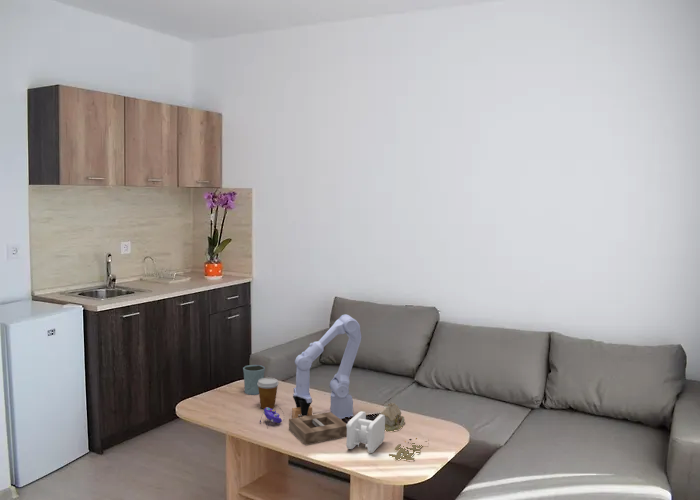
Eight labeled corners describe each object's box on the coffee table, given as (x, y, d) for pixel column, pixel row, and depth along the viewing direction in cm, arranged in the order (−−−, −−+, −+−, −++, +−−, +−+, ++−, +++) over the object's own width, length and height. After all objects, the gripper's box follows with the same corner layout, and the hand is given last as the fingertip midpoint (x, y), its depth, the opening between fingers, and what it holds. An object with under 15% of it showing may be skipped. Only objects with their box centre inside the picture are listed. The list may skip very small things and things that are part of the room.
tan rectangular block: (309, 416, 265) (309, 405, 264) (312, 418, 262) (312, 407, 262) (292, 419, 261) (292, 408, 261) (294, 422, 259) (295, 410, 258)
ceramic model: (393, 434, 249) (394, 410, 248) (369, 428, 254) (370, 405, 253) (408, 423, 261) (409, 400, 260) (385, 417, 266) (386, 395, 265)
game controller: (290, 414, 257) (272, 416, 249) (283, 431, 258) (265, 433, 251) (277, 401, 263) (259, 402, 256) (270, 418, 265) (252, 419, 257)
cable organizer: (370, 456, 228) (371, 426, 226) (344, 451, 232) (345, 421, 231) (384, 441, 241) (385, 413, 240) (360, 436, 245) (361, 408, 244)
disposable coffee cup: (282, 405, 277) (282, 380, 276) (268, 412, 269) (269, 385, 268) (266, 401, 282) (266, 376, 281) (252, 407, 274) (252, 381, 273)
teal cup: (240, 394, 290) (240, 369, 289) (247, 387, 300) (247, 363, 299) (260, 396, 288) (261, 371, 287) (267, 389, 298) (267, 365, 297)
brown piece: (330, 422, 259) (330, 411, 259) (348, 436, 245) (348, 425, 245) (288, 429, 250) (289, 419, 250) (305, 444, 236) (305, 433, 236)
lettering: (410, 434, 249) (410, 432, 249) (433, 439, 245) (433, 437, 245) (385, 458, 227) (385, 456, 227) (411, 464, 222) (411, 462, 222)
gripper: (287, 379, 264) (286, 409, 266) (301, 389, 252) (300, 421, 253) (302, 377, 268) (301, 407, 269) (316, 387, 255) (315, 418, 257)
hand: (302, 413), depth 261 cm, fingers open, 4 cm apart
